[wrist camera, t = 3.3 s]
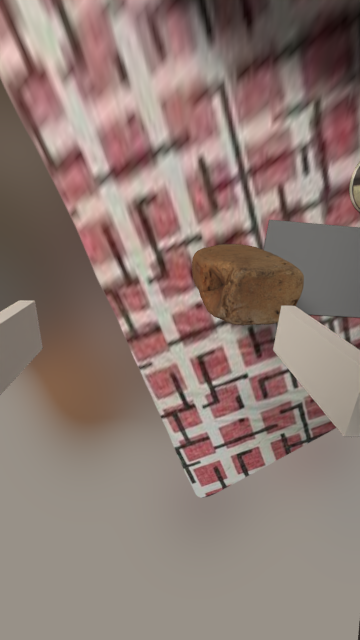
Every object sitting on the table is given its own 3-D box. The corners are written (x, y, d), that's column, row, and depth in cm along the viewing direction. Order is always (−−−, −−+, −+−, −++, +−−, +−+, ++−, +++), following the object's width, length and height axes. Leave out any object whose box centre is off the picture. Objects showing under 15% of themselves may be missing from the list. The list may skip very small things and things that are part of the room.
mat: (251, 310, 50) (252, 311, 50) (269, 219, 44) (269, 219, 44) (362, 317, 52) (363, 317, 52) (392, 230, 46) (394, 230, 46)
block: (253, 243, 45) (316, 264, 27) (249, 286, 48) (302, 331, 30) (190, 243, 45) (209, 264, 26) (189, 286, 48) (206, 333, 29)
